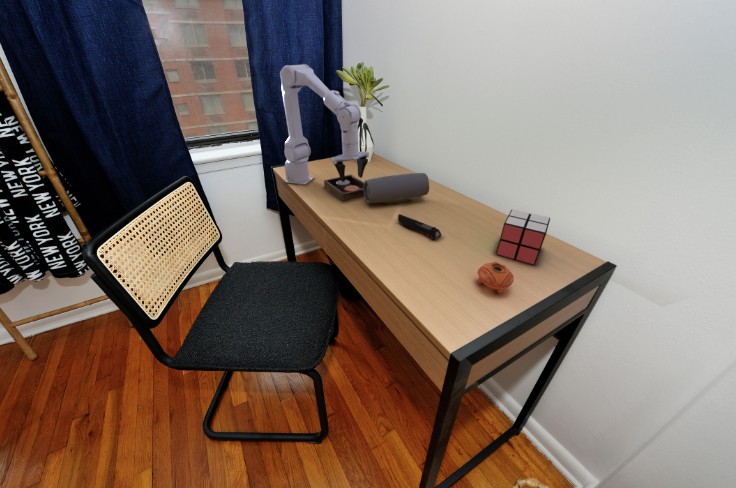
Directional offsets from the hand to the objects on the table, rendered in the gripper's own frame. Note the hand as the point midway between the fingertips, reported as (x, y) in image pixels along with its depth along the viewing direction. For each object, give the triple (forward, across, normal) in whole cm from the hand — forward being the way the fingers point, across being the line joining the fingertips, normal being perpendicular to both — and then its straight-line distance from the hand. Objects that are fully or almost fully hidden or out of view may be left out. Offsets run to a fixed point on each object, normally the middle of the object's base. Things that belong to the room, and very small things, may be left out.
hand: (351, 178), depth 117 cm
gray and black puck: (+6, 0, +7) cm, 9 cm away
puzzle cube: (+7, +20, -60) cm, 63 cm away
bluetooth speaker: (+7, +11, -14) cm, 19 cm away
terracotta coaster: (+6, 0, 0) cm, 6 cm away
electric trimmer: (+7, +4, -35) cm, 36 cm away
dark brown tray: (+6, 0, +4) cm, 7 cm away
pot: (+7, +2, -66) cm, 66 cm away
